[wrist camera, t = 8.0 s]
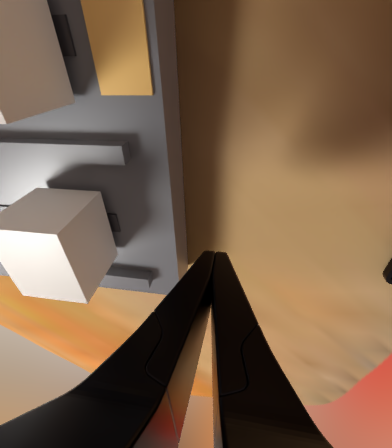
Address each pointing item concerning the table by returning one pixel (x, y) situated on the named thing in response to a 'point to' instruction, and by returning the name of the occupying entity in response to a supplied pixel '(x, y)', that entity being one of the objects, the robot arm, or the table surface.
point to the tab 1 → (30, 62)
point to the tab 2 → (57, 243)
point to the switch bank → (113, 135)
